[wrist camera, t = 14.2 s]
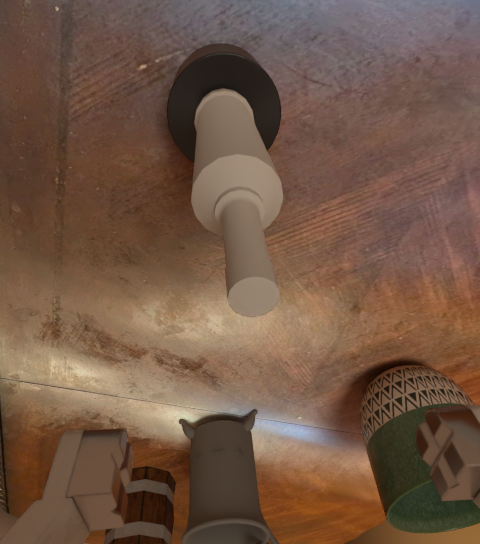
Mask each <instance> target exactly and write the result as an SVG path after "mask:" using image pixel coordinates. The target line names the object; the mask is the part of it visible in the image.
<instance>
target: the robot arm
mask: <svg viewBox="0 0 480 544" xmlns="http://www.w3.org/2000/svg"><path fill="white" fill-rule="evenodd" d="M423 416H424V418H425V421H424V422H422V423H421V424H419V425H418V428H417V430H416V444H417V448H418V451H419V453H420V455H421V457H422V459H423V460H424V461H425V462H426V463H427V464H428V465H430V466H431V473H430V477H431V479H432V481H433V483H434V485H435V488H436V490H437V492H438V494H439V496H440V498H441V500H442V501H454V500H473V499H474V500H473V502H474V503H475V504H476V505H477V506H478V507H479V508H480V405H468V406H451V407H439V408H430V409H428V410H426V412H425V414H424V415H423ZM127 438H128V433H127V430H126V428H114V429H98V430H78V431H65V432H64V433H63V435H62V437H61V438H60V441H59V445H58V448H57V451H56V454H55V458H54V461H53V464H52V467H51V471H50V474H49V477H48V480H47V484H46V487H45V490H44V493H43V497H42V500H35V501H34V502H33V504H32V505H31V506H30V507H29V508H28V509H27V510H26V511H25V512H24V514H23V515H22V516H21V517H20V518H19V519H18V520H17V521H16V522H15V524H14V525H13V526H12V527H11V528H10V529H9V530H8V531H7V532H6V534H5V535H4V536H3V537H2V538H1V539H0V544H83V543H84V541H85V540H86V538H87V537H88V535H89V534H90V532H89V531H95V530H104V529H113V528H122V527H124V525H125V518H126V511H127V504H128V496H127V493H126V490H125V487H126V486H127V485H128V484H129V482H130V481H131V475H132V462H133V455H132V448H131V444H129V443H128V442H127Z"/></svg>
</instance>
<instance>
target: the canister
mask: <svg viewBox="0 0 480 544" xmlns="http://www.w3.org/2000/svg"><path fill="white" fill-rule="evenodd" d="M222 88H224V89H229V90H234V91H236V92H237V93H239V94H240V95H242V96H243V97H244V98H245V99H246V100H247V102H248V104H249V105H250V107H251V109H252V111H253V117H254V123H255V125H256V128H257V130H258V132H259V134H260V137H261V139H262V141H263V143H264V145H265V148H266V150H267V151H268V149H269V148H270V147H271V145H272V143H273V142H274V140H275V138H276V135H277V133H278V130H279V126H280V120H281V105H280V99H279V95H278V92H277V89H276V87H275V85H274V83H273V81H272V79H271V78H270V77H269V75H268V74H267V72H266V71H265V70H264V69H263V68H262V67H261V66H260V64H259V63H258V62H257V60H256V59H255V58H254V57H253V56H252V55H250V54H249V53H248V52H247V51H245V50H243V49H241V48H239V47H237V46H234V45H230V44H222V43H219V44H211V45H207V46H204V47H202V48H200V49H198V50H196V51H195V52H193V53H192V54H191V55H190V56H189V57H188V58H187V59H186V60H185V61H184V62H183V64H182V65H181V66H180V68H179V70H178V72H177V75H176V77H175V80H174V84H173V86H172V89H171V92H170V95H169V99H168V106H167V119H168V125H169V129H170V132H171V135H172V137H173V139H174V141H175V143H176V145H177V146H178V148H179V149H180V150H181V152H182V153H183V154H184V155H185V156H186V157H187V158H189V159H190V160H191V161H192V162H194V160H195V149H196V138H197V132H196V128H195V124H194V122H195V115H196V109H197V107H198V105H199V103H200V102H201V100H202V98H203V97H205V96H206V95H207V94H209V93H210V92H211V91H214V90H218V89H222Z"/></svg>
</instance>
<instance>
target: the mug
mask: <svg viewBox="0 0 480 544" xmlns="http://www.w3.org/2000/svg"><path fill="white" fill-rule="evenodd" d="M175 484H176V482H175V481H174V479H173V478H172V476H171V474H170V473H169V472H168V471H163V470H159V469H155V468H151V467H142V468H136V469H132V475H131V481H130V482H129V484H128V485H127V486H126V487H125V490H126V493H127V496H128V504H127V511H126V518H125V525H124V527H122V528H113V529H106V534H105V541H104V544H171V540H172V529H173V522H174V512H173V501H174V490H175Z"/></svg>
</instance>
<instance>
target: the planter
mask: <svg viewBox="0 0 480 544" xmlns="http://www.w3.org/2000/svg"><path fill="white" fill-rule="evenodd" d="M468 405H475V404H474V403H473V401H472V400H471V399H470V397H469V396H468V395H467V394H466V393H465V391H464V390H463V389H462V388H461V387H459V386H458V385H457V384H456V383H455V382H454V381H453V380H452V379H450V378H449V377H447V376H446V375H444V374H443V373H441V372H439V371H436V370H434V369H431V368H428V367H424V366H417V365H403V366H397V367H394V368H391V369H388V370H386V371H384V372H383V373H381V374H380V375H378V376H377V377H376V378H375V379H374V380H373V381H372V382H371V383H370V385H369V386H368V387H367V389H366V391H365V393H364V395H363V397H362V400H361V404H360V426H361V432H362V436H363V440H364V444H365V447H366V451H367V454H368V458H369V461H370V465H371V468H372V472H373V475H374V478H375V482H376V485H377V489H378V492H379V496H380V500H381V503H382V506H383V509H384V512H385V516H386V519H387V521H388V522H389V524H390V525H391V526H393V527H394V528H396V529H398V530H401V531H406V532H412V533H437V532H445V531H451V530H456V529H461V528H465V527H469V526H472V525H475V524H478V523H480V508H479V507H478V506H477V505H476V504H475V503H474V502H473V500H474V499H473V500H454V501H442V500H441V498H440V496H439V494H438V492H437V490H436V488H435V485H434V483H433V481H432V479H431V477H430V473H431V466H430V465H428V464H427V463H426V462H425V461H424V460H423V459H422V457H421V455H420V453H419V451H418V448H417V444H416V430H417V428H418V425H419V424H421V423H422V422H424V421H425V418H424V416H423V415H424V414H425V412H426V410H428V409H430V408H439V407H451V406H468Z"/></svg>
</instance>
